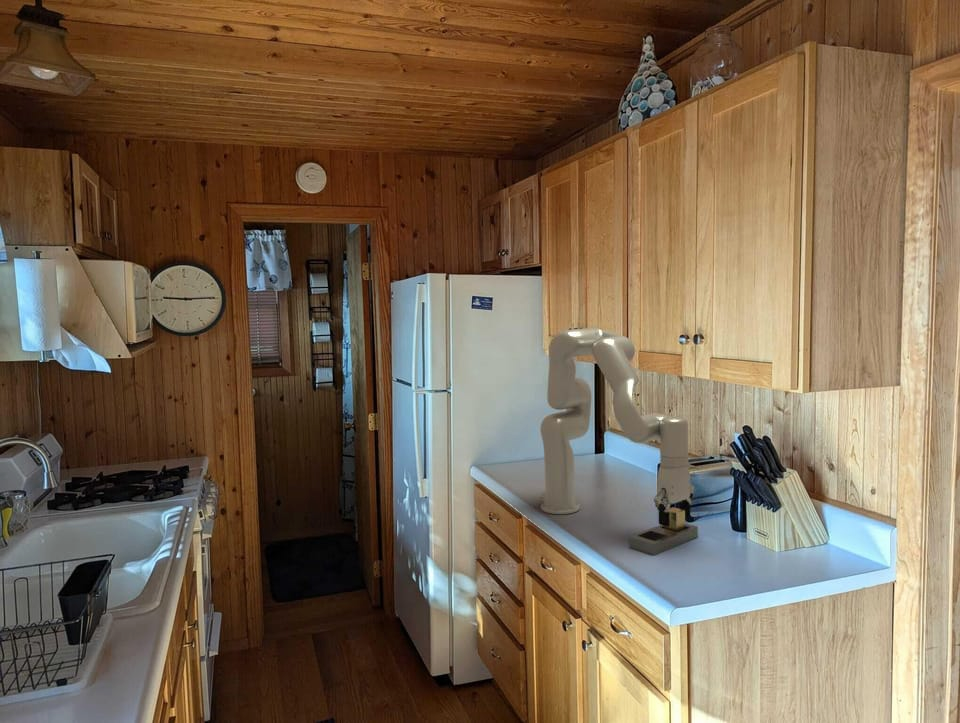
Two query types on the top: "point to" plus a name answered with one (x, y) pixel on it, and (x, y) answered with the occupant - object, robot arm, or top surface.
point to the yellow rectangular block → (676, 520)
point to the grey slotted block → (661, 539)
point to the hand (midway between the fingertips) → (674, 521)
